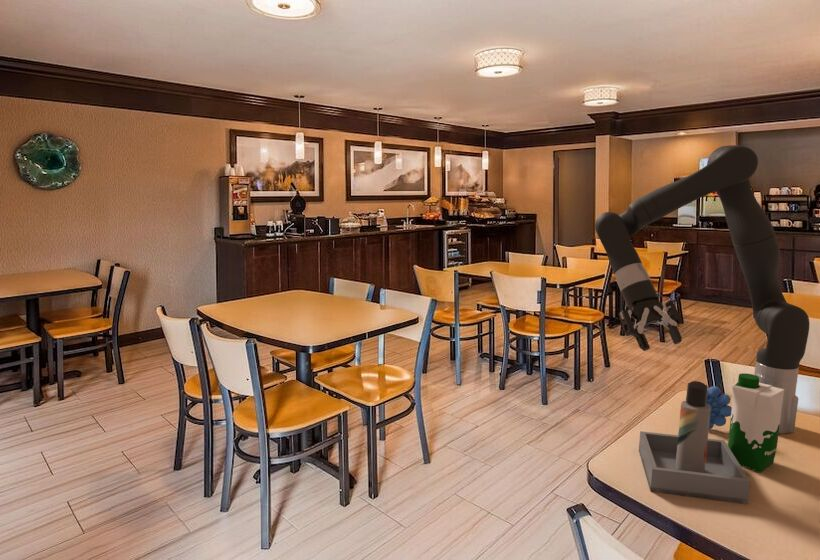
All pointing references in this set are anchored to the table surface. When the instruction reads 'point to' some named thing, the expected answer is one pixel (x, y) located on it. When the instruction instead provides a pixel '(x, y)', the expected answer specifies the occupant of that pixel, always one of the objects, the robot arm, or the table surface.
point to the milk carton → (754, 422)
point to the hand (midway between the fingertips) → (662, 346)
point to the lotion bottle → (693, 429)
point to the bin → (715, 483)
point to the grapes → (718, 406)
